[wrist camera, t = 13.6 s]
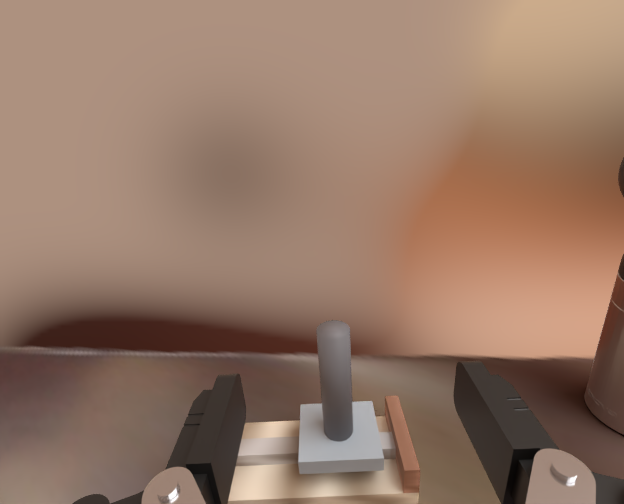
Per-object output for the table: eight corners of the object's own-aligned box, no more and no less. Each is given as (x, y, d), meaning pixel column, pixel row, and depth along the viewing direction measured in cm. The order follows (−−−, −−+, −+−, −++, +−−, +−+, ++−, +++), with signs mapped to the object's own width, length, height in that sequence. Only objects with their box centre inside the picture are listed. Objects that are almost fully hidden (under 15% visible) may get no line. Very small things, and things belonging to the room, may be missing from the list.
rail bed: (396, 428, 42) (397, 395, 40) (417, 506, 33) (420, 470, 31) (214, 437, 42) (207, 405, 40) (190, 516, 34) (179, 480, 32)
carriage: (372, 421, 40) (371, 307, 34) (383, 481, 33) (385, 351, 28) (302, 425, 40) (291, 311, 35) (300, 485, 34) (286, 356, 28)
